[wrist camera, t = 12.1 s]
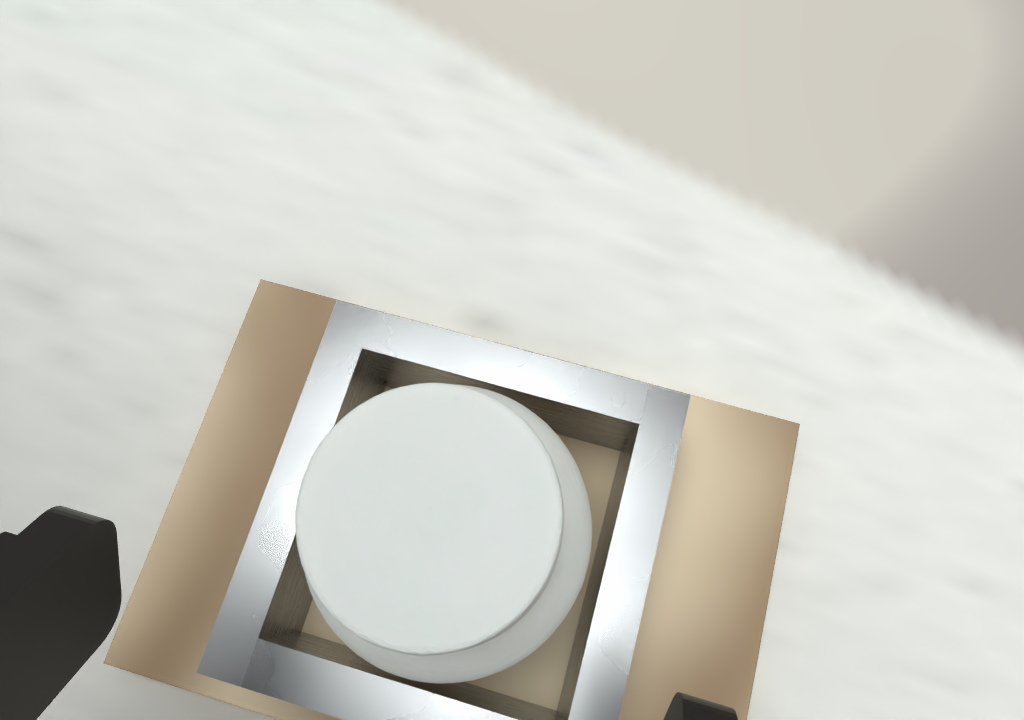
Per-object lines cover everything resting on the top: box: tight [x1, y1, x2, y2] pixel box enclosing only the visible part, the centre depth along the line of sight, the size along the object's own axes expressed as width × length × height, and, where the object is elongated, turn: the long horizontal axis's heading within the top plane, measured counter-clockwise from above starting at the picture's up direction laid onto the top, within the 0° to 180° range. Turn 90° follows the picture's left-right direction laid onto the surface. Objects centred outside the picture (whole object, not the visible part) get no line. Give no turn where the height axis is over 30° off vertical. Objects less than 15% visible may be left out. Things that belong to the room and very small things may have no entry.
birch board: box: [104, 279, 800, 720], centre depth 21 cm, size 16×11×1 cm
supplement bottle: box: [295, 383, 592, 683], centre depth 16 cm, size 5×5×10 cm
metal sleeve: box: [197, 300, 691, 720], centre depth 19 cm, size 9×9×4 cm
